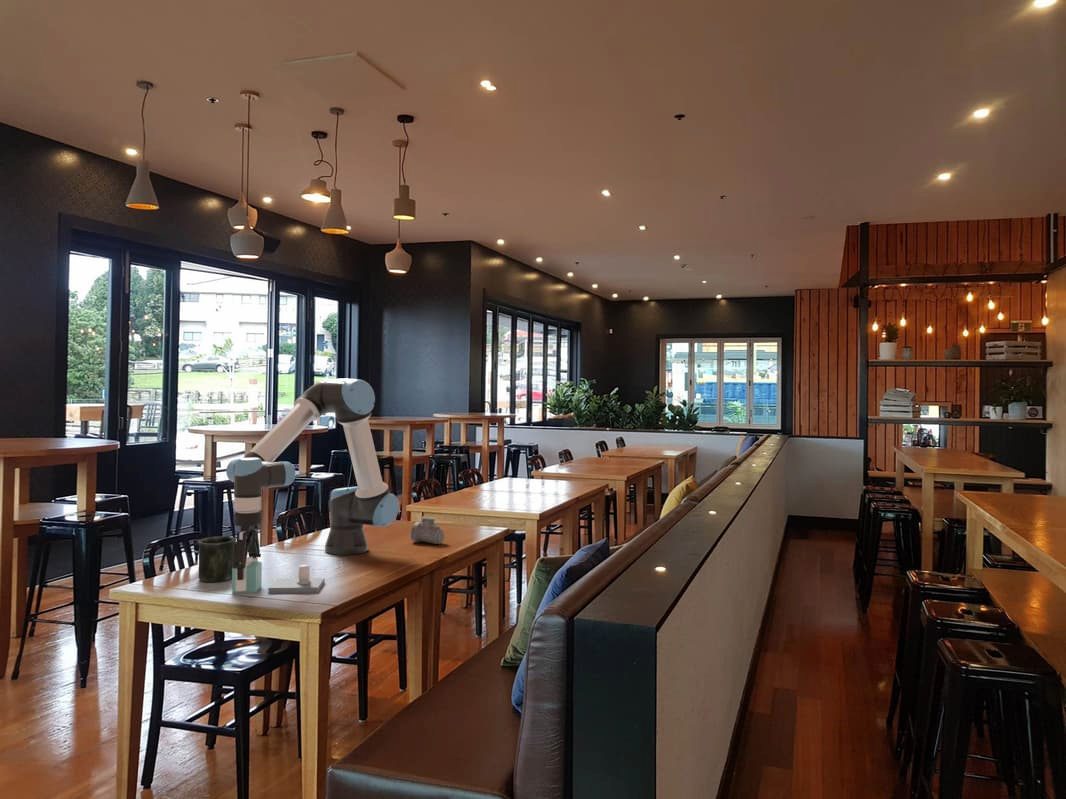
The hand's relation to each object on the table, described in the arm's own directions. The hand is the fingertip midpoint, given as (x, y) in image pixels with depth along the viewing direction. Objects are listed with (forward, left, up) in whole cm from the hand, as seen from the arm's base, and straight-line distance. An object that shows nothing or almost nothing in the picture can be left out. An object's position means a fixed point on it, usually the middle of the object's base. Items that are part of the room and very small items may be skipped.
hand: (246, 585), depth 225 cm
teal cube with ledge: (0, 0, -1) cm, 1 cm away
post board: (-2, +14, -1) cm, 14 cm away
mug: (-15, -12, -2) cm, 19 cm away
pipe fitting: (-66, +50, -2) cm, 83 cm away
